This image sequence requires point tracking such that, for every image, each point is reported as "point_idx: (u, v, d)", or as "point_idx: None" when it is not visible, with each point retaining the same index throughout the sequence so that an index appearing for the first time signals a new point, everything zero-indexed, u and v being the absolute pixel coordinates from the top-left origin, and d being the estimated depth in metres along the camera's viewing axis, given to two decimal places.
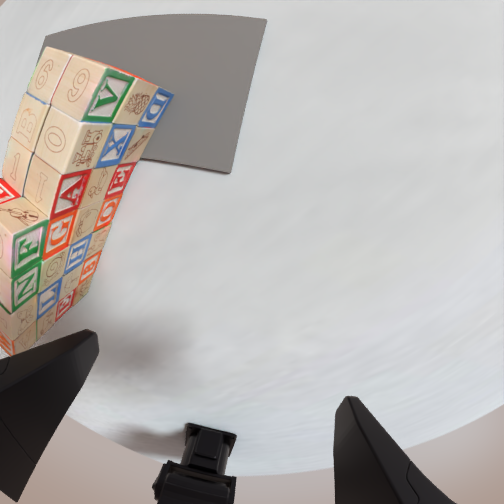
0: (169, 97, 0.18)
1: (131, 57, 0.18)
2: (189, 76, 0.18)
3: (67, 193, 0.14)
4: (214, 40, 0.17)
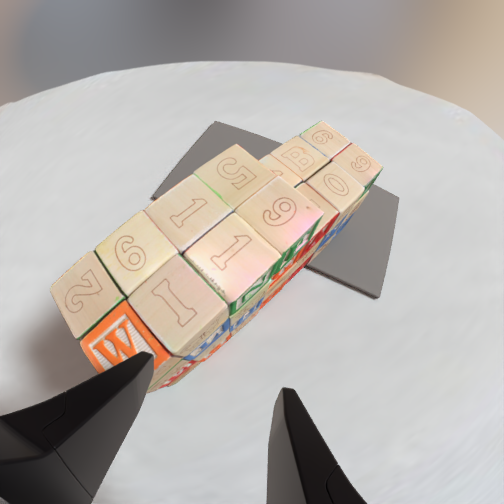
0: (344, 225, 0.26)
1: None
2: (354, 218, 0.28)
3: (320, 234, 0.17)
4: (370, 200, 0.29)
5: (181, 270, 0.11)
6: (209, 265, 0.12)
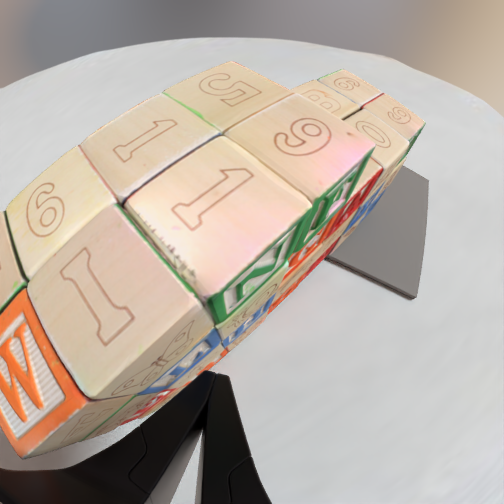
0: (373, 206, 0.20)
1: None
2: (381, 200, 0.22)
3: (357, 199, 0.11)
4: (398, 181, 0.23)
5: (114, 230, 0.05)
6: (168, 221, 0.06)
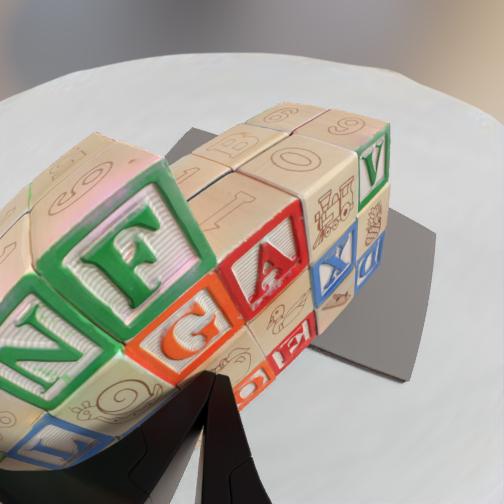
0: (377, 262, 0.16)
1: None
2: (381, 269, 0.19)
3: (270, 256, 0.08)
4: (401, 240, 0.20)
5: None
6: None
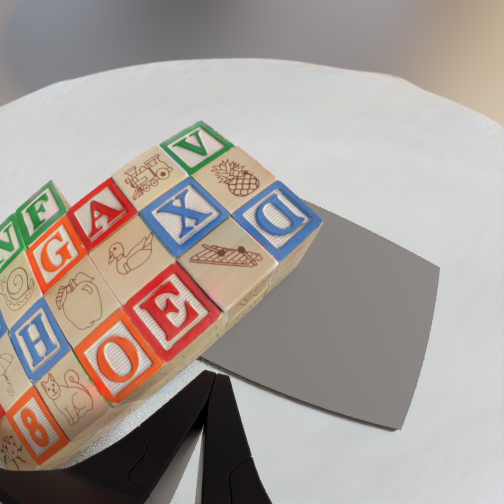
0: (311, 218, 0.13)
1: (311, 259, 0.19)
2: (378, 314, 0.17)
3: (96, 206, 0.12)
4: (402, 279, 0.19)
5: None
6: None
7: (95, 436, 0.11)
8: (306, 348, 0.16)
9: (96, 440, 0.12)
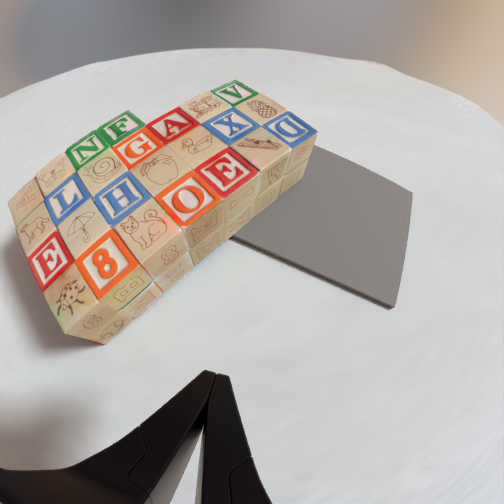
0: (310, 130, 0.19)
1: (311, 177, 0.25)
2: (364, 216, 0.24)
3: (169, 121, 0.19)
4: (381, 195, 0.25)
5: None
6: None
7: (145, 295, 0.18)
8: (312, 232, 0.23)
9: (140, 313, 0.19)
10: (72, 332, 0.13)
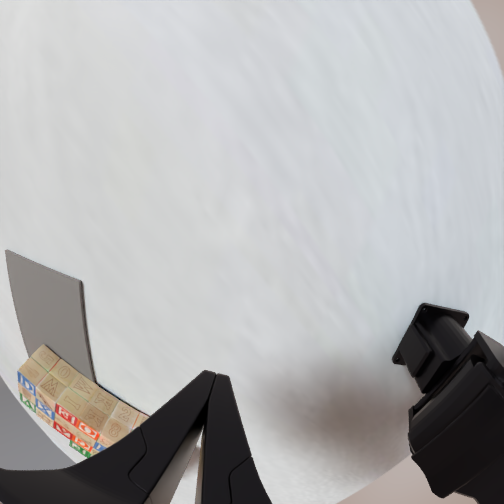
0: (19, 374, 0.21)
1: (38, 334, 0.27)
2: (38, 301, 0.25)
3: (62, 431, 0.25)
4: (20, 283, 0.25)
5: None
6: None
7: None
8: (66, 340, 0.26)
9: None
10: None
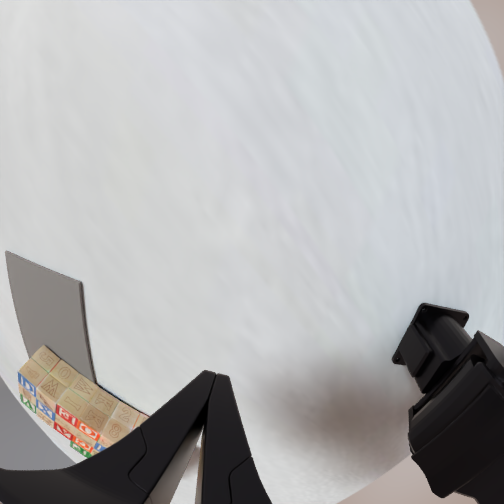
0: (20, 375, 0.21)
1: (38, 335, 0.27)
2: (38, 302, 0.25)
3: (62, 432, 0.25)
4: (20, 284, 0.25)
5: None
6: None
7: None
8: (66, 340, 0.26)
9: None
10: None
